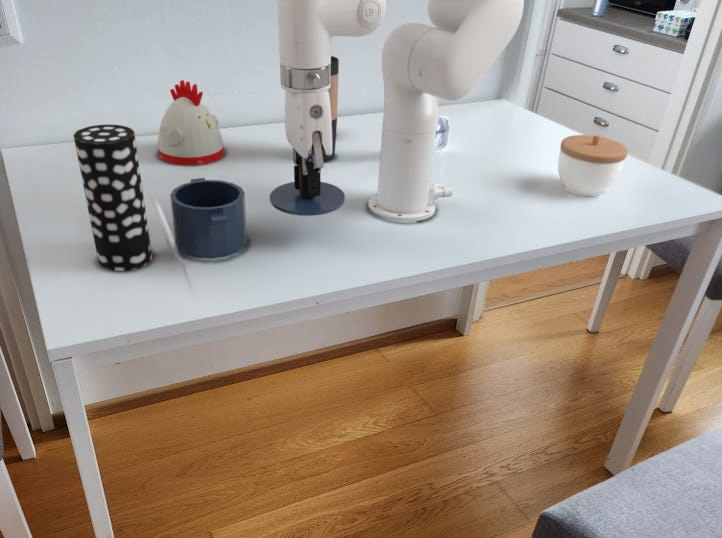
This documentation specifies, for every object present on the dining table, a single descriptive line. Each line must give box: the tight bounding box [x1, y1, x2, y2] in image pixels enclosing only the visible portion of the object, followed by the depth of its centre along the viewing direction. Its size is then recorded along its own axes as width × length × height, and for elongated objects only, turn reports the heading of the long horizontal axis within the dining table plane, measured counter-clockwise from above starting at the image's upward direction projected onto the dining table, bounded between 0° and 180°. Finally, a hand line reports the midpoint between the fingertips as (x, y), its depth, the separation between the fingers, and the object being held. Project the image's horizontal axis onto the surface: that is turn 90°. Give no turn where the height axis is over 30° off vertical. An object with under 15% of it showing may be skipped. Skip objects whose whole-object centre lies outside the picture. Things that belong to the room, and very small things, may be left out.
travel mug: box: [311, 55, 340, 163], centre depth 142 cm, size 8×8×20 cm
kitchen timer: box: [157, 79, 225, 166], centre depth 142 cm, size 14×14×15 cm
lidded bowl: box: [557, 134, 629, 198], centre depth 135 cm, size 13×13×11 cm
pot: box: [169, 177, 248, 259], centre depth 111 cm, size 12×17×9 cm
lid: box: [269, 161, 346, 217], centre depth 111 cm, size 12×12×7 cm
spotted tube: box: [73, 124, 153, 272], centre depth 102 cm, size 8×8×20 cm
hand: (307, 191), depth 112 cm, fingers closed on lid, 2 cm apart
